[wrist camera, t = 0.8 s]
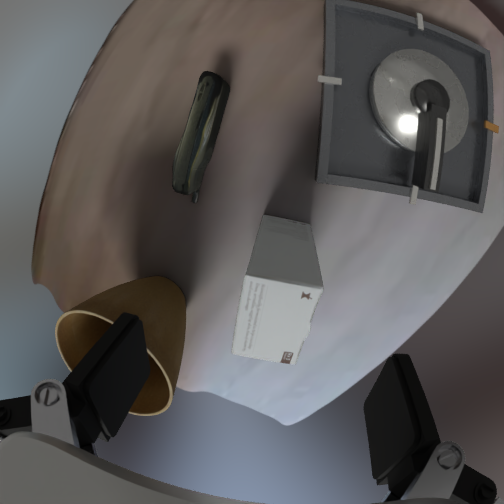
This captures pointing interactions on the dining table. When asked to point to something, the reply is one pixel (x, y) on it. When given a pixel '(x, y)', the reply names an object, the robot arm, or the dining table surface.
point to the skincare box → (278, 292)
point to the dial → (420, 109)
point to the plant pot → (155, 330)
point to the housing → (363, 119)
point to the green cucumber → (200, 134)
